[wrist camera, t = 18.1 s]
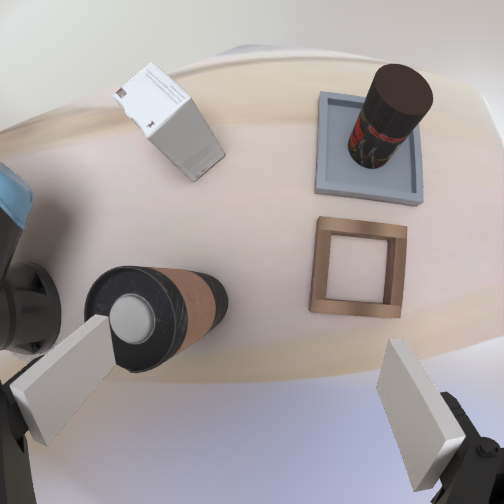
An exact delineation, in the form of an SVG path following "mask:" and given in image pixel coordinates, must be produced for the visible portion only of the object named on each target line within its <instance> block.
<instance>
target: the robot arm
mask: <svg viewBox="0 0 504 504" xmlns="http://www.w3.org/2000/svg"><path fill="white" fill-rule="evenodd" d="M33 201H34V197H33V192H32V190H31V188H30V187H29V186H28V185H27V184H26V183H25V182H24V181H23V180H22V179H21V178H20V177H19V176H18V175H16V174H15V173H14V172H13V171H11V170H10V169H9V168H8V167H6V166H5V165H4V164H3V163H1V162H0V350H9V351H13V352H17V353H22V354H26V355H34V354H38V353H42V352H44V351H46V350H48V349H49V348H50V347H51V346H52V345H53V343H54V342H55V340H56V338H57V335H58V332H59V328H60V320H61V310H60V302H59V297H58V293H57V290H56V288H55V285H54V283H53V281H52V279H51V278H50V276H49V275H48V273H47V272H46V271H45V270H44V269H43V268H42V267H40V266H38V265H36V264H33V263H24V262H20V263H15V264H13V265H10V262H11V260H12V257H13V254H14V251H15V249H16V246H17V244H18V241H19V239H20V236H21V234H22V231H23V230H25V226H26V225H25V223H26V220H27V218H28V215H29V213H30V210H31V208H32V205H33ZM9 265H10V266H9ZM115 365H116V362H115V357H114V351H113V345H112V339H111V333H110V326H109V319H108V316H102V315H96V314H95V315H94V316H93V317H92V318H90V319H89V320H88V321H86V322H85V323H84V324H83V325H81V326H80V327H79V328H78V329H76V330H75V331H74V332H73V333H71V334H70V335H69V336H68V337H66V338H65V339H64V340H63V341H62V342H60V343H59V344H58V345H57V346H55V347H54V348H53V349H52V350H51V351H49V352H48V353H47V354H46V355H42V356H40V357H38V358H35V359H33V360H32V361H31V362H30V363H29V364H27V366H25V367H24V368H23V369H21V371H19V372H18V373H17V374H15V375H14V376H13V377H12V378H11V379H9V380H8V381H7V382H6V383H5V384H3V385H2V383H1V380H0V504H37V503H36V498H35V493H34V488H33V482H32V476H31V470H30V462H29V454H28V445H27V439H26V437H25V433H26V432H27V431H28V430H29V431H30V433H31V435H32V437H33V439H34V440H35V441H37V442H39V443H41V444H43V445H45V446H47V447H48V446H49V444H50V443H51V442H52V441H53V440H54V438H55V437H56V436H57V435H58V433H59V432H60V431H61V430H62V429H63V427H64V426H65V425H66V423H67V422H68V421H69V420H70V419H71V417H72V416H73V415H74V414H75V412H76V411H77V410H78V409H79V408H80V406H81V405H82V404H83V403H84V402H85V400H86V399H87V398H88V397H89V396H90V394H91V393H92V392H93V391H94V389H95V388H96V387H97V386H98V385H99V383H100V382H101V381H102V380H103V379H104V378H105V376H106V375H107V374H108V373H109V372H110V370H111V369H112V368H113V367H114V366H115ZM376 389H377V391H378V393H379V396H380V399H381V401H382V404H383V407H384V409H385V412H386V414H387V417H388V420H389V422H390V425H391V428H392V430H393V433H394V436H395V439H396V441H397V444H398V447H399V449H400V453H401V455H402V458H403V461H404V464H405V467H406V470H407V473H408V476H409V479H410V482H411V485H412V488H413V491H414V492H417V491H421V490H426V489H431V488H433V487H434V485H435V484H436V482H437V481H438V479H439V478H440V480H441V483H442V487H441V489H440V490H439V491H438V493H437V494H436V495H435V497H434V498H433V499H432V500H431V503H432V504H504V448H500V446H499V444H498V443H497V442H495V441H494V440H492V439H490V438H487V437H481V436H480V435H479V433H478V432H477V430H476V429H475V427H474V425H473V424H472V422H471V421H470V419H469V418H468V416H467V415H466V413H465V411H464V410H463V409H462V408H461V405H460V404H459V402H458V401H457V399H456V398H454V397H453V396H452V395H451V394H449V393H448V392H441V393H439V391H438V390H437V388H436V386H435V385H434V383H433V382H432V380H431V379H430V377H429V376H428V374H427V373H426V371H425V370H424V368H423V367H422V365H421V364H420V362H419V360H418V359H417V358H416V356H415V355H414V353H413V352H412V350H411V349H410V347H409V346H408V344H407V343H406V341H405V340H404V339H389V341H388V345H387V349H386V353H385V357H384V361H383V365H382V368H381V372H380V376H379V379H378V383H377V386H376Z"/></svg>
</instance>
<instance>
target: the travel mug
mask: <svg viewBox="0 0 504 504" xmlns="http://www.w3.org/2000/svg"><path fill="white" fill-rule="evenodd" d="M227 307H228V298H227V294H226V291H225V289H224V287H223V286H222V284H221V283H220V282H219V281H218V280H217V279H215V278H214V277H212V276H210V275H207V274H203V273H198V272H193V271H188V270H181V269H168V268H153V267H139V266H121V267H116V268H113V269H110V270H108V271H107V272H105V273H104V274H102V275H101V276H100V277H99V278H98V279H97V280H96V281H95V282H94V284H93V285H92V287H91V288H90V290H89V293H88V295H87V298H86V302H85V308H84V321H85V322H86V321H88V320H89V319H90V318H92V317H93V316H94V315H95V314H96V315H102V316H108V319H109V326H110V333H111V339H112V345H113V351H114V357H115V362H116V365H118V366H121V367H123V368H125V369H126V370H128V371H129V372H131V373H140V372H145V371H148V370H151V369H153V368H155V367H157V366H159V365H161V364H162V363H164V362H165V361H167V360H168V359H170V358H172V357H173V356H175V355H176V354H178V353H179V352H181V351H182V350H184V349H186V348H187V347H189V346H190V345H192V344H193V343H195V342H196V341H198V340H199V339H201V338H202V337H203V336H205V335H206V334H207V333H208V332H209V331H210V330H212V329H213V328H214V327H215V326H216V325H217V324H218V323H219V322H220V321H221V320H222V319H223V317H224V316H225V313H226V311H227Z"/></svg>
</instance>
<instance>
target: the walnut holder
mask: <svg viewBox="0 0 504 504" xmlns="http://www.w3.org/2000/svg"><path fill="white" fill-rule="evenodd" d="M331 234H333V235H343V236H352V237H362V238H371V239H380V240H388V250H387V265H386V277H385V288H384V298H383V303H371V302H358V301H345V300H333V299H325V296H326V287H327V277H328V266H329V254H330V242H331ZM406 247H407V226H400V225H392V224H384V223H376V222H367V221H359V220H350V219H341V218H331V217H322V216H319V218H318V220H317V226H316V239H315V251H314V262H313V273H312V283H311V292H310V302H309V311H310V312H315V313H327V314H339V315H353V316H368V317H384V318H400V316H401V308H402V299H403V289H404V277H405V264H406Z"/></svg>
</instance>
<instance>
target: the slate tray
mask: <svg viewBox="0 0 504 504" xmlns="http://www.w3.org/2000/svg"><path fill="white" fill-rule="evenodd" d="M365 99H366V97H360V96H353V95H346V94H339V93H331V92H322V91H320V96H319V111H318V141H317V164H316V182H315V194H324V195H333V196H342V197H351V198H359V199H367V200H375V201H382V202H389V203H397V204H404V205H410V206H418V205H419V204H421V203H423V170H422V153H421V141H420V130H419V123H418V125H417V126H416V127H415V128H414V130H413V131H412V132H411V133H410V135H409V136H408V137H407V138H406V140H405V141H404V142H403V143H402V144H401V146H400V147H399V148H398V149H397V151H396V152H395V153H394V154H393V155H392V157H391V158H390V159H389V160H388V162H387V163H386V164H385V165H383V166H382V167H380V168H377V169H368V168H365V167H362V166H360V165H359V164H357V163H356V162H355V161H354V160H353V159H352V157H351V156H350V154H349V151H348V140H349V137H350V135H351V133H352V130H353V128H354V126H355V123H356V121H357V118H358V116H359V114H360V111H361V109H362V106H363V104H364V101H365Z"/></svg>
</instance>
